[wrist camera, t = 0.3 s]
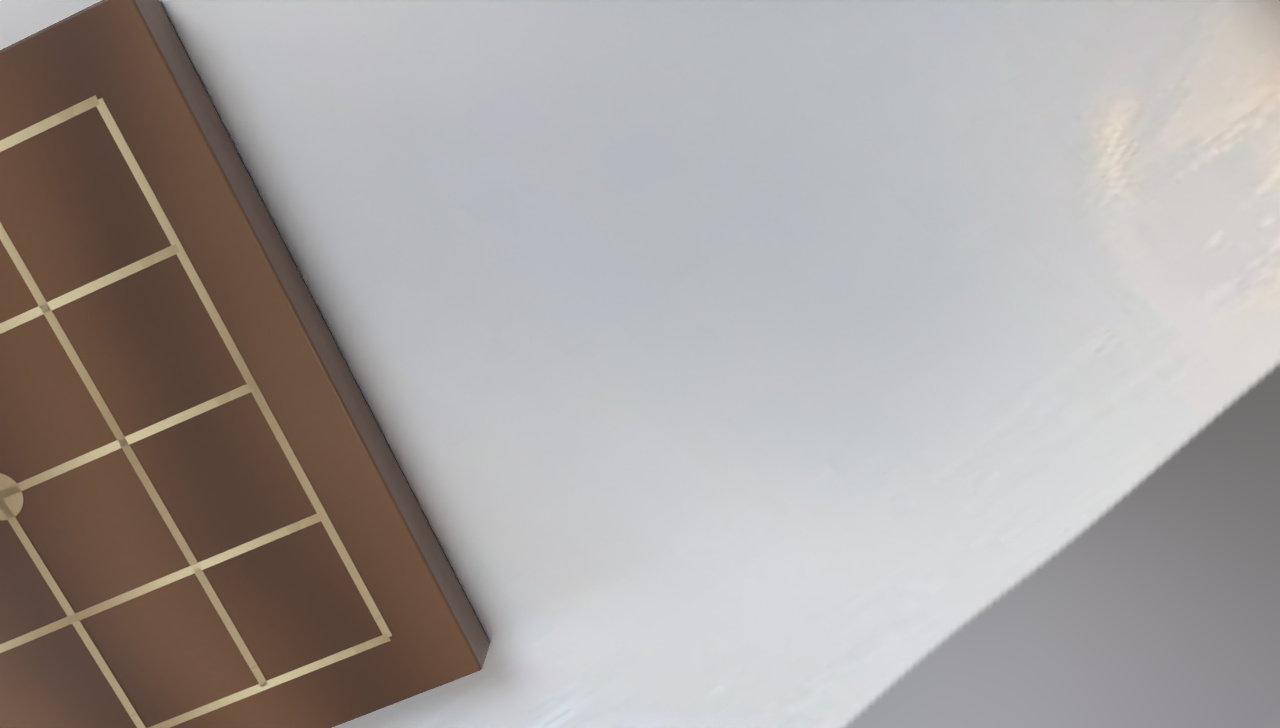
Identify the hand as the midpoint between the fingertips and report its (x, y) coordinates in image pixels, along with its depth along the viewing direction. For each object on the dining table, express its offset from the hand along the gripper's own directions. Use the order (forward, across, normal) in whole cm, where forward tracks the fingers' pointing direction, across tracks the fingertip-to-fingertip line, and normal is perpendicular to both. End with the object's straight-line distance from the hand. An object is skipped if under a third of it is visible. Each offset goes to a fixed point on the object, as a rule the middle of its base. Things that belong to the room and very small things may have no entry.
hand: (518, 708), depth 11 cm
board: (+16, -15, -8) cm, 24 cm away
